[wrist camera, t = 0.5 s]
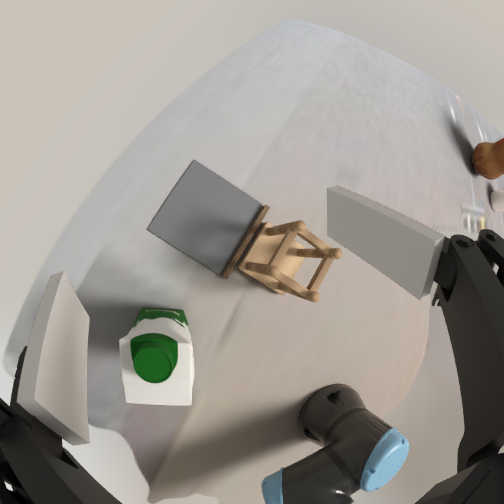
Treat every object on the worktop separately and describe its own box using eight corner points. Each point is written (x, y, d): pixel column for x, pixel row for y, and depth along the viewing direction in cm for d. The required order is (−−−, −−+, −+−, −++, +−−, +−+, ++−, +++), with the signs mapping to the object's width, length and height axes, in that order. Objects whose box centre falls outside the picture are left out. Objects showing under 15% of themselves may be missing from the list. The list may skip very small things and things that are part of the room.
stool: (304, 250, 49) (347, 250, 36) (279, 293, 48) (317, 309, 35) (264, 223, 47) (297, 212, 34) (237, 267, 46) (261, 275, 33)
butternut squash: (472, 143, 69) (522, 128, 45) (484, 175, 71) (534, 166, 47) (461, 152, 66) (518, 136, 42) (475, 188, 67) (531, 178, 43)
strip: (267, 208, 47) (269, 207, 46) (225, 278, 45) (226, 279, 44) (263, 205, 47) (266, 204, 46) (221, 275, 45) (222, 276, 44)
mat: (262, 204, 47) (262, 204, 47) (219, 274, 45) (219, 274, 45) (194, 160, 44) (194, 159, 44) (147, 229, 42) (147, 229, 42)
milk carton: (188, 304, 44) (197, 345, 24) (188, 355, 44) (199, 420, 24) (136, 302, 41) (108, 340, 22) (138, 353, 41) (118, 417, 22)
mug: (493, 216, 72) (510, 215, 63) (488, 193, 71) (505, 190, 62) (500, 208, 75) (516, 206, 66) (495, 186, 74) (512, 184, 65)
